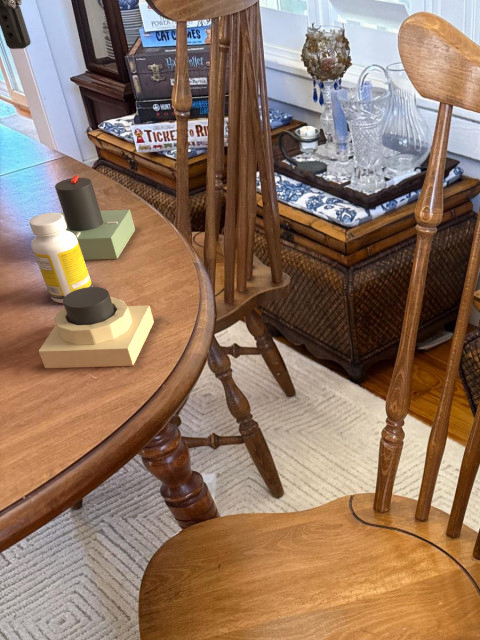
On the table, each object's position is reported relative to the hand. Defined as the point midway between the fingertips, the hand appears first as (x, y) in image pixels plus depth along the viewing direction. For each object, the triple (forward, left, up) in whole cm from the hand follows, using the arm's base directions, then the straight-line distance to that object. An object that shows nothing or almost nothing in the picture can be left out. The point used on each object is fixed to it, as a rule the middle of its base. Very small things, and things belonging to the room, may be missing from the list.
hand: (19, 46), depth 87 cm
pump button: (+7, -20, -23) cm, 31 cm away
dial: (-3, +9, -23) cm, 25 cm away
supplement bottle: (-1, -7, -27) cm, 27 cm away
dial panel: (-3, +9, -26) cm, 28 cm away
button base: (+7, -20, -26) cm, 34 cm away
